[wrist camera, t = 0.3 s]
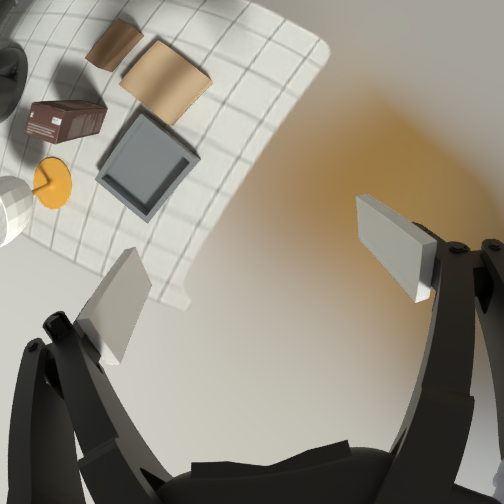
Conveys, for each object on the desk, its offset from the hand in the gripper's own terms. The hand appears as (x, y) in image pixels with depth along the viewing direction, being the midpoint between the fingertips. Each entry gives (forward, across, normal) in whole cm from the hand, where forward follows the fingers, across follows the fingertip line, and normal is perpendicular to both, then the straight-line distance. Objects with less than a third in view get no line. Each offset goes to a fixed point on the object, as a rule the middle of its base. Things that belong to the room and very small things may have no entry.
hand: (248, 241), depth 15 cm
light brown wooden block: (+25, -7, +15) cm, 30 cm away
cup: (+25, -31, +8) cm, 40 cm away
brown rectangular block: (+25, -12, +24) cm, 36 cm away
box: (+25, -20, +15) cm, 35 cm away
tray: (+25, -13, +4) cm, 28 cm away
